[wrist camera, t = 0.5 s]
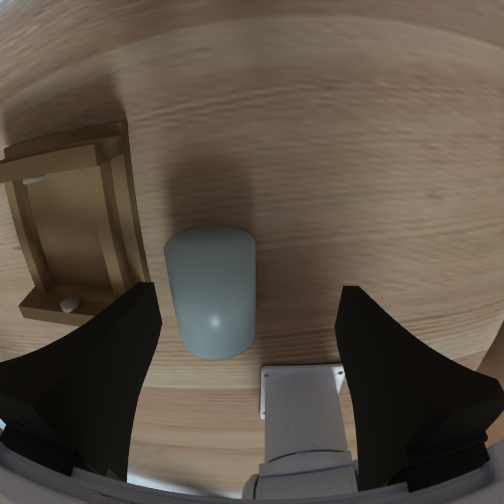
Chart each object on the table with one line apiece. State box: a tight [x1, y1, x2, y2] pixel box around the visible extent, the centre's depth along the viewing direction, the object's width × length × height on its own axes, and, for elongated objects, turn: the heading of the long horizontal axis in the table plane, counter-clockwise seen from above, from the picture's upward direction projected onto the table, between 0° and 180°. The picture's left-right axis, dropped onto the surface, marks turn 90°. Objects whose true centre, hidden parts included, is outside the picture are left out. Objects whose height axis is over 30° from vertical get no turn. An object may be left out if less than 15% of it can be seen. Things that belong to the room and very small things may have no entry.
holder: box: [0, 120, 151, 326], centre depth 18 cm, size 14×11×4 cm
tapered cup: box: [164, 226, 256, 360], centre depth 20 cm, size 7×5×5 cm
